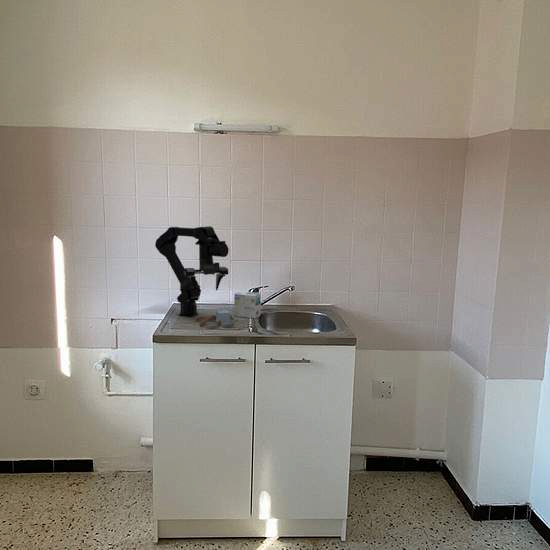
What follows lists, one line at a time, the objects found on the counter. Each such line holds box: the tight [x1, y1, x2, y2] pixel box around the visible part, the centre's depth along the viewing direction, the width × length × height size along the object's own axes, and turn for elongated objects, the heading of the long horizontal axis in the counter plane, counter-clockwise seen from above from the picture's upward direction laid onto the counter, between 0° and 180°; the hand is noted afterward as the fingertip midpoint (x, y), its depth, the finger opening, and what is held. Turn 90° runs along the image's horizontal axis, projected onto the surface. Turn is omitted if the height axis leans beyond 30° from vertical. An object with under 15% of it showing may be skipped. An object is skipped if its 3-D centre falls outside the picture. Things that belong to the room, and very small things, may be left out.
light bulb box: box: [233, 290, 262, 319], centre depth 220 cm, size 11×7×11 cm, turn 71°
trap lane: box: [195, 314, 238, 330], centre depth 206 cm, size 16×14×2 cm
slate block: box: [215, 309, 231, 325], centre depth 208 cm, size 5×5×5 cm
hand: (206, 290), depth 213 cm, fingers open, 9 cm apart
